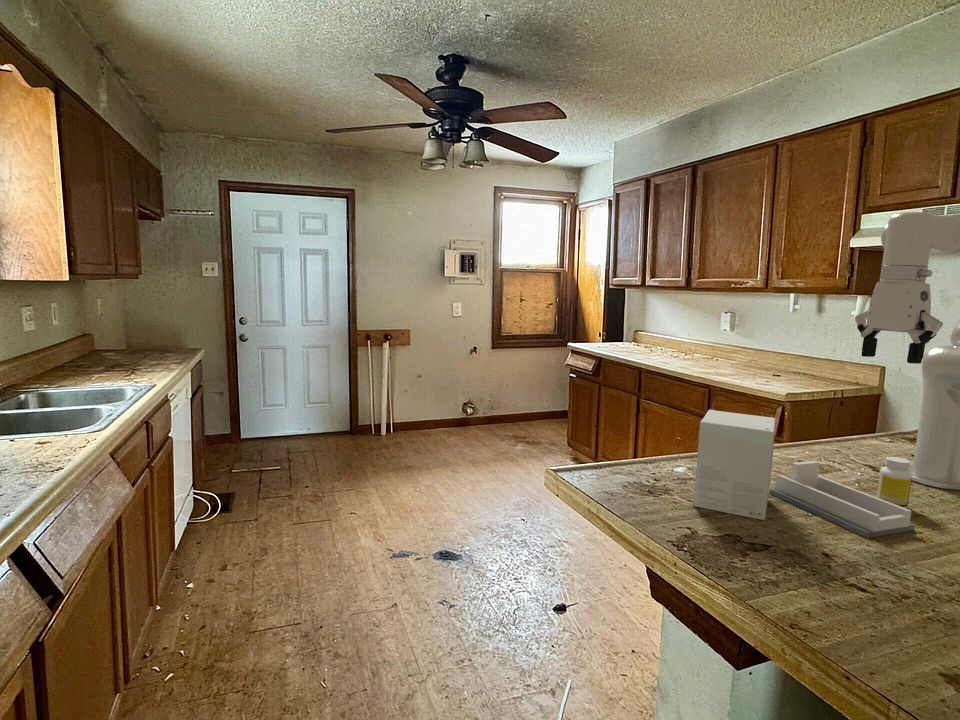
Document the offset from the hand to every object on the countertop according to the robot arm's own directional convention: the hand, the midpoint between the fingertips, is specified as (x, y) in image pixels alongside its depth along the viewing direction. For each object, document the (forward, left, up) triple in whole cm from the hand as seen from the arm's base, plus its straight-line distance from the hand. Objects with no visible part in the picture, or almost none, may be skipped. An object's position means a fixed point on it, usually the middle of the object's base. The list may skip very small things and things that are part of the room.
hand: (890, 359), depth 119 cm
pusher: (+14, -5, -28) cm, 32 cm away
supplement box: (+32, -6, -30) cm, 44 cm away
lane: (+14, +3, -30) cm, 33 cm away
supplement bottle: (0, +4, -30) cm, 30 cm away
